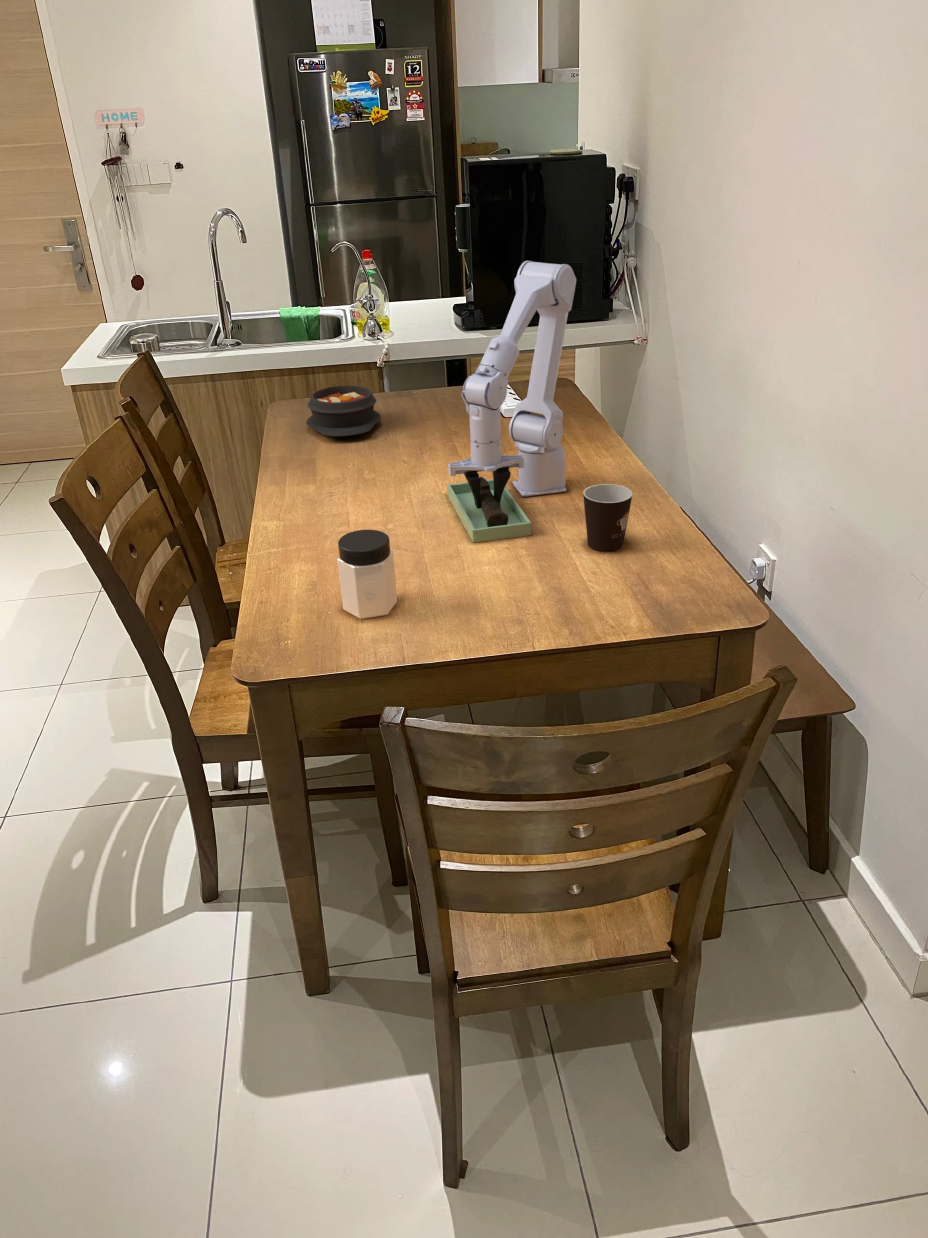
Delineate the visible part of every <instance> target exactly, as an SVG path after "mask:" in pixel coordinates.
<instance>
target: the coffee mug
mask: <svg viewBox="0 0 928 1238" xmlns="http://www.w3.org/2000/svg"><path fill="white" fill-rule="evenodd" d="M582 495H583V507H584V517H585V518H584V519H585V529H586V539H587V546H588V547H589V548H590V549H591V550H592V551H596V552H601V553H612V552H616V551H619V550H621V549H622V548H624V544H625V538H626V533H627V526H628V521H629V516H630V510H631V504H632V499H633V491H632V490H631V489H630V488H628V487H626V486H624V485H621V484H614V483H600V484H594V485H590V486H588V487H586V488H585V489H584V490H583V491H582Z"/></svg>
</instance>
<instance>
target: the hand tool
mask: <svg viewBox="0 0 928 1238" xmlns="http://www.w3.org/2000/svg"><path fill="white" fill-rule="evenodd" d="M479 478H480V479H481V484H480V498H481V509H482V511H483V513H484V516H485V519H486V520H487V526H488V527H494V526H502V525H507V523H508V515H507V514H505V513H504V512H502V510H501V505H500V503H497V501H496V499H495V498H494V496H493V494H492V493H491V490H490V485H489V484H488V481H486V480H487V479H486V478H485V477H483V476H479Z"/></svg>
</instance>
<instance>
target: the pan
mask: <svg viewBox="0 0 928 1238" xmlns="http://www.w3.org/2000/svg"><path fill="white" fill-rule="evenodd" d="M486 481H488V484H489V485H490V490H491V493H492V494H493V496H494V481H493V478H492V479H486ZM446 489H447V491H446V492H447V498H448V499H449V501H450V503H451V505H452V506H453V508H454V510H455V512H456V514H457V516H458V518H459V520H460V522H461V524H462V525H463V527H464V529H465V531H466V532H467V534H468V536H469V538H470V539H471V541H472V543H481V542H489V541H490V542H491V541H496V540H503V539H504V540H505V539H512V538H520V537H528V536H532V522H531V520H530V519H529V518H528V516H527V515H526V513H525V512H524V510H523V509H522V507H521V506H520V505H519V503H518V502H517V500H516V499H515V498H514V496H513V494H512V493H511V492H510V491H509V489H508V487H507V485H506V486H505V488H504V491H503V494H502V497H501V502H500V505H501V510H502V512H504V513H505V514H507V515H508V523H507V525H502V526H494V527H488V526H487V520H486V519H485V516H484V513H483V511H482V509H481V508H480V509H477V507H476V506H475V501H474V497H473V493H472V490H471V488H470V485H469V483H468V481H467V482H459V483H451V484H446Z"/></svg>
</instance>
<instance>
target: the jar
mask: <svg viewBox="0 0 928 1238" xmlns="http://www.w3.org/2000/svg"><path fill="white" fill-rule="evenodd" d="M337 546H338V555H339V556H338V557H337V559H336V561H337V569H338V570H337V571H338V578H339V587H340V594H341V603H342V609H343V610H344V611H345V612H347V613H349V614H350V615H352V616H353V617H356V618H358V619H360V620H362V619H370V618H377V617H383V616H388V615H389V613H390V612H391V611H392V609H393V608H394V606H396V604H397V603H398V593H397V583H396V571H395V570H396V569H395V558H394V552H393V550H391V543H390V537H389V535H388V534H387V533H386V532H383V531H381V530H376V529H359V530H353V531H350V532H348V533H347V532H346V533H345V534H343V535H342V536H341V537H340V538H338V541H337Z"/></svg>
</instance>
